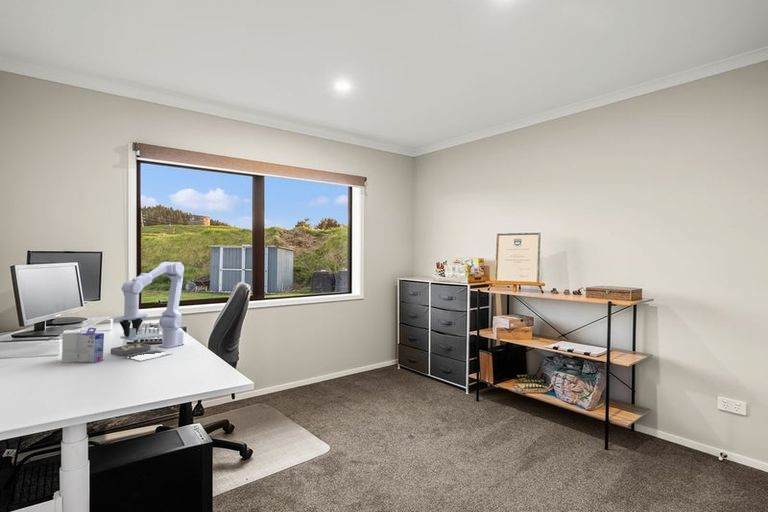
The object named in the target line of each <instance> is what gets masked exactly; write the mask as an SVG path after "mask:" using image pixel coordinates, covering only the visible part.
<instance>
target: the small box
mask: <svg viewBox="0 0 768 512" xmlns="http://www.w3.org/2000/svg"><path fill="white" fill-rule="evenodd" d="M81 333H82V330H81V329H68V330H67V329H65V330H63V332H62V345H61V346H62V349H61V351H62V352H61V353H62V354H61V364H66V363H74V362H76V361H75V354H76V341H77V334H81Z"/></svg>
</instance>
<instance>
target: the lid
mask: <svg viewBox="0 0 768 512" xmlns="http://www.w3.org/2000/svg"><path fill="white" fill-rule="evenodd" d="M160 337H163V333H154V332H145V333H137V335H136V328H133V327H130V329H129V336H128V337H127V336H125V335H123V336H120V339H122V340H127V341H140V340H146V339H153V338H160Z"/></svg>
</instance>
